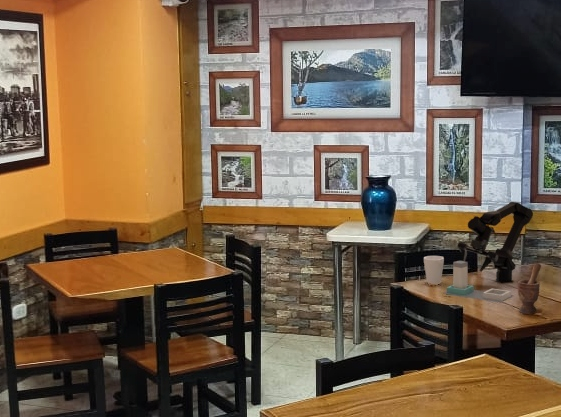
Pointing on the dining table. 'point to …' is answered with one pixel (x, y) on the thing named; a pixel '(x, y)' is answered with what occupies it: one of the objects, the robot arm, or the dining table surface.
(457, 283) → the plug block
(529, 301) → the mortar and pestle
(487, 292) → the socket board
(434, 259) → the foam cup
